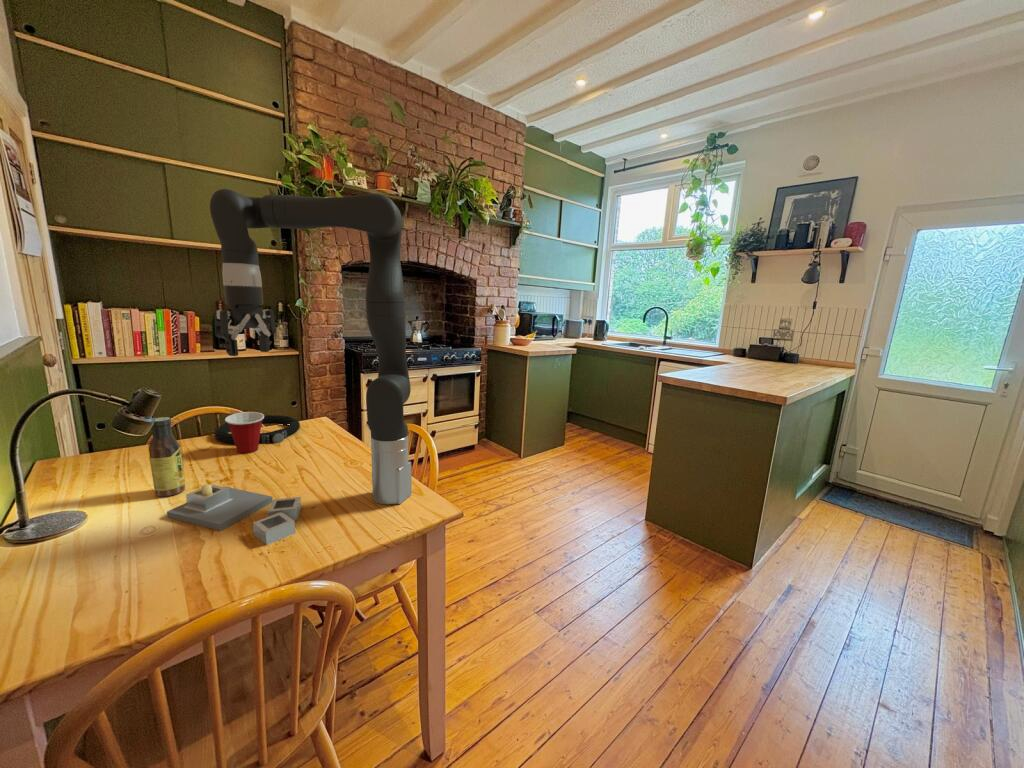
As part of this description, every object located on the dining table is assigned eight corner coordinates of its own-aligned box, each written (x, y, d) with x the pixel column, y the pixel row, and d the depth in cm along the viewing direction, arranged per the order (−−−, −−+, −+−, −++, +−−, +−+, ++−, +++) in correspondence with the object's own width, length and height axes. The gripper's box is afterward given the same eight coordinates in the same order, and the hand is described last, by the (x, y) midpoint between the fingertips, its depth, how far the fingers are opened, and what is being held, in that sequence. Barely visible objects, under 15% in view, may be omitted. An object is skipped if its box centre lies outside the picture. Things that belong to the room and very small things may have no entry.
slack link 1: (301, 507, 102) (300, 496, 101) (297, 520, 96) (296, 508, 96) (274, 510, 100) (273, 499, 99) (268, 523, 94) (267, 511, 94)
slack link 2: (282, 523, 95) (281, 511, 94) (295, 533, 91) (294, 520, 91) (254, 534, 90) (253, 522, 89) (266, 545, 86) (265, 532, 86)
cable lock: (280, 410, 172) (316, 425, 154) (280, 418, 173) (317, 434, 155) (201, 423, 150) (233, 443, 133) (202, 433, 151) (234, 454, 133)
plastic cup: (231, 459, 128) (227, 423, 126) (225, 449, 136) (222, 414, 134) (270, 452, 136) (267, 417, 133) (263, 442, 143) (260, 410, 141)
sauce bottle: (188, 492, 107) (179, 419, 103) (157, 500, 102) (146, 424, 98) (183, 484, 111) (174, 414, 107) (153, 491, 107) (142, 418, 103)
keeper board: (272, 501, 104) (270, 480, 103) (220, 530, 91) (217, 505, 90) (224, 491, 108) (222, 470, 107) (167, 517, 95) (164, 493, 94)
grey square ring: (230, 499, 101) (229, 488, 101) (206, 510, 96) (204, 499, 95) (212, 495, 103) (210, 484, 102) (187, 506, 97) (185, 494, 97)
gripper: (227, 283, 87) (234, 358, 90) (280, 286, 101) (286, 351, 104) (200, 282, 89) (208, 356, 92) (256, 285, 103) (262, 349, 106)
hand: (249, 353), depth 98 cm, fingers open, 8 cm apart
